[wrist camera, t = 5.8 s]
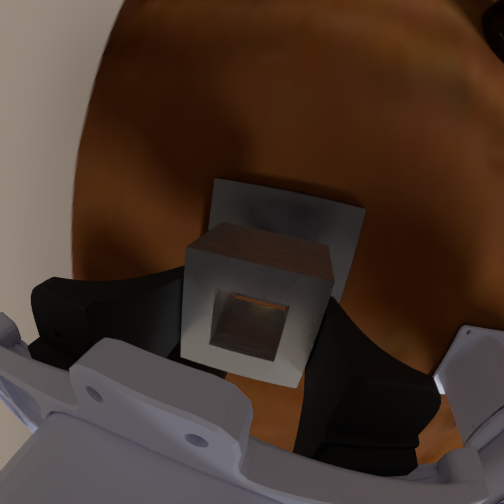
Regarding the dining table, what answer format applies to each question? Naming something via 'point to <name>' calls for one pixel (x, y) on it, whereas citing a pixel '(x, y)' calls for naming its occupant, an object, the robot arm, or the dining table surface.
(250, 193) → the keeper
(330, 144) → the dining table surface
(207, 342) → the gray square hollow block
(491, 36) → the supplement bottle
